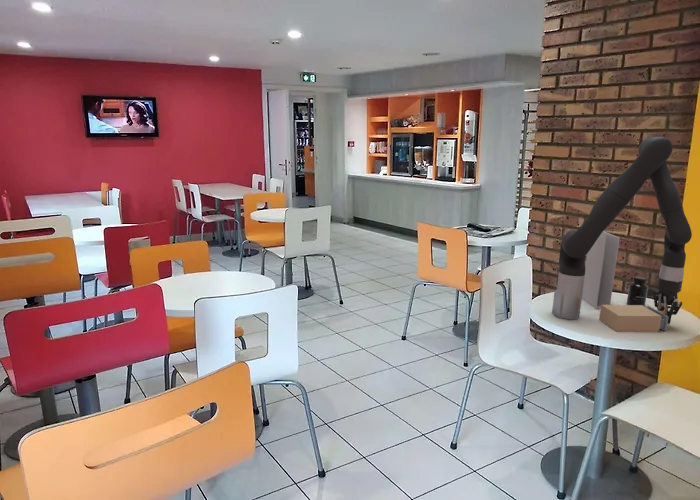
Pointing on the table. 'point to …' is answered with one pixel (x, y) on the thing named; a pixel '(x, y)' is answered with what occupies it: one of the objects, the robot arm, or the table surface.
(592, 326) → the table surface
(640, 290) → the supplement bottle
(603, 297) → the grey standing panel
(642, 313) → the sleeve
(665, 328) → the tray
